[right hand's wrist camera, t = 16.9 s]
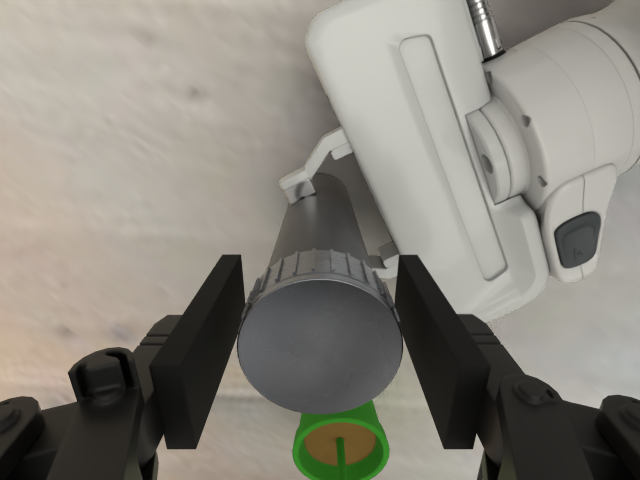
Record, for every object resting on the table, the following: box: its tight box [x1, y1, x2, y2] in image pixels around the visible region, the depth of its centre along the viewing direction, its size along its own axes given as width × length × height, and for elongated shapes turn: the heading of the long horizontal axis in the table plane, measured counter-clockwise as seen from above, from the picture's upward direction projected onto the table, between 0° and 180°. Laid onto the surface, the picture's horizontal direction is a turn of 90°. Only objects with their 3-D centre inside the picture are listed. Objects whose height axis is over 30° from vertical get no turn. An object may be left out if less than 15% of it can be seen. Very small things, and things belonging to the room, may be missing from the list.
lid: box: [237, 248, 403, 414], centre depth 11 cm, size 5×5×2 cm
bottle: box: [268, 173, 373, 270], centre depth 19 cm, size 5×5×17 cm
